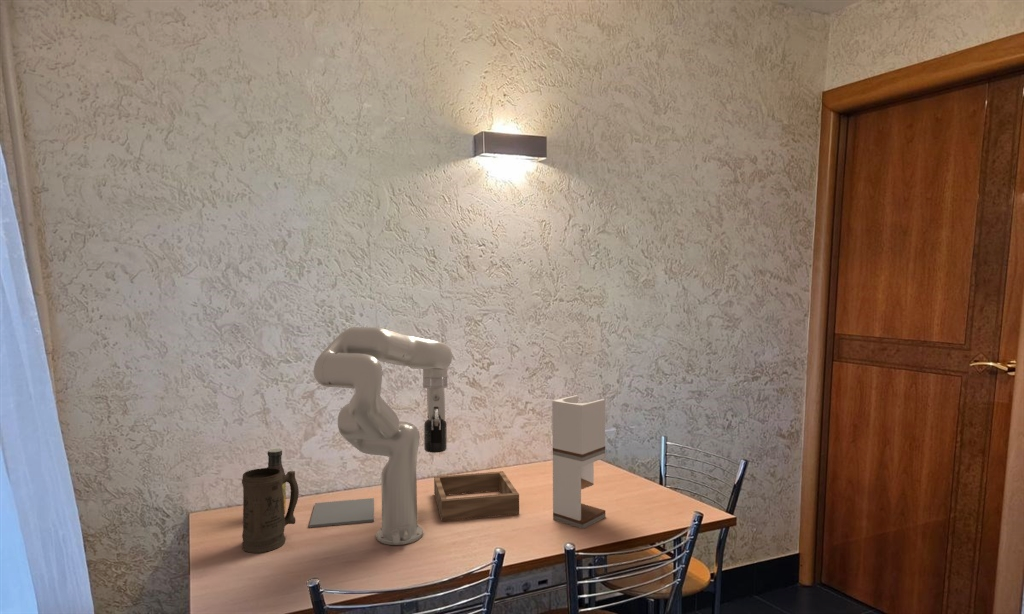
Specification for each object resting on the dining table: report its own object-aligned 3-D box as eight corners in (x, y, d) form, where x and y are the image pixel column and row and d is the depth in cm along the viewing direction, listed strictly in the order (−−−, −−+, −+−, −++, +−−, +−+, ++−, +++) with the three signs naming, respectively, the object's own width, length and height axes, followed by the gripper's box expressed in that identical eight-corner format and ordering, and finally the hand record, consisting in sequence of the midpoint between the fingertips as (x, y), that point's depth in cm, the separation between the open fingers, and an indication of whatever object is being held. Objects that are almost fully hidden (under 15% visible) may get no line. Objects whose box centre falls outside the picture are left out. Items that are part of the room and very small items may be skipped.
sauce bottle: (270, 521, 177) (269, 454, 176) (259, 517, 180) (257, 451, 180) (290, 514, 182) (289, 449, 181) (279, 510, 186) (277, 446, 185)
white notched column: (582, 528, 169) (582, 405, 168) (553, 519, 177) (552, 400, 175) (605, 517, 178) (605, 399, 177) (576, 508, 185) (575, 395, 184)
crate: (519, 514, 181) (519, 494, 181) (442, 521, 176) (441, 501, 175) (503, 488, 203) (503, 471, 203) (434, 494, 198) (434, 476, 198)
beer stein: (255, 557, 153) (259, 478, 153) (230, 548, 159) (233, 472, 159) (305, 540, 166) (308, 467, 166) (280, 531, 172) (283, 461, 172)
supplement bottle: (435, 446, 191) (435, 408, 191) (451, 449, 187) (451, 411, 187) (419, 450, 186) (419, 411, 186) (435, 454, 181) (435, 414, 181)
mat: (373, 521, 176) (373, 519, 176) (309, 527, 172) (309, 525, 172) (373, 500, 193) (373, 498, 193) (315, 505, 189) (315, 503, 189)
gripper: (449, 386, 178) (449, 446, 178) (445, 378, 195) (445, 433, 195) (424, 386, 177) (424, 447, 177) (422, 379, 194) (422, 434, 194)
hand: (435, 439), depth 186 cm, fingers closed on supplement bottle, 6 cm apart
